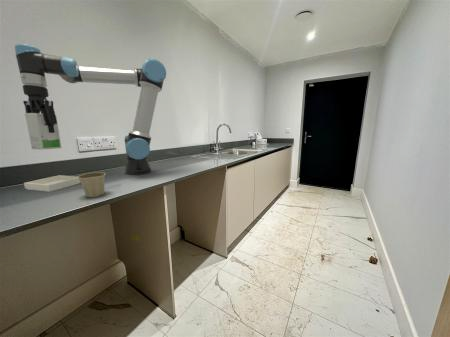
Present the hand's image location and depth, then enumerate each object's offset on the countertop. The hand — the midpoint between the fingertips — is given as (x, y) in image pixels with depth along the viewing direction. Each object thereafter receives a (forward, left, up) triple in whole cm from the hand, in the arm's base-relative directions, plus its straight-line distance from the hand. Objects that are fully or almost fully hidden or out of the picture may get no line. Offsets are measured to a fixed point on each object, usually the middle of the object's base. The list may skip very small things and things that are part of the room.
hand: (45, 140), depth 82 cm
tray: (0, 0, -22) cm, 22 cm away
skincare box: (0, 0, -4) cm, 4 cm away
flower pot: (-30, +6, -22) cm, 38 cm away
